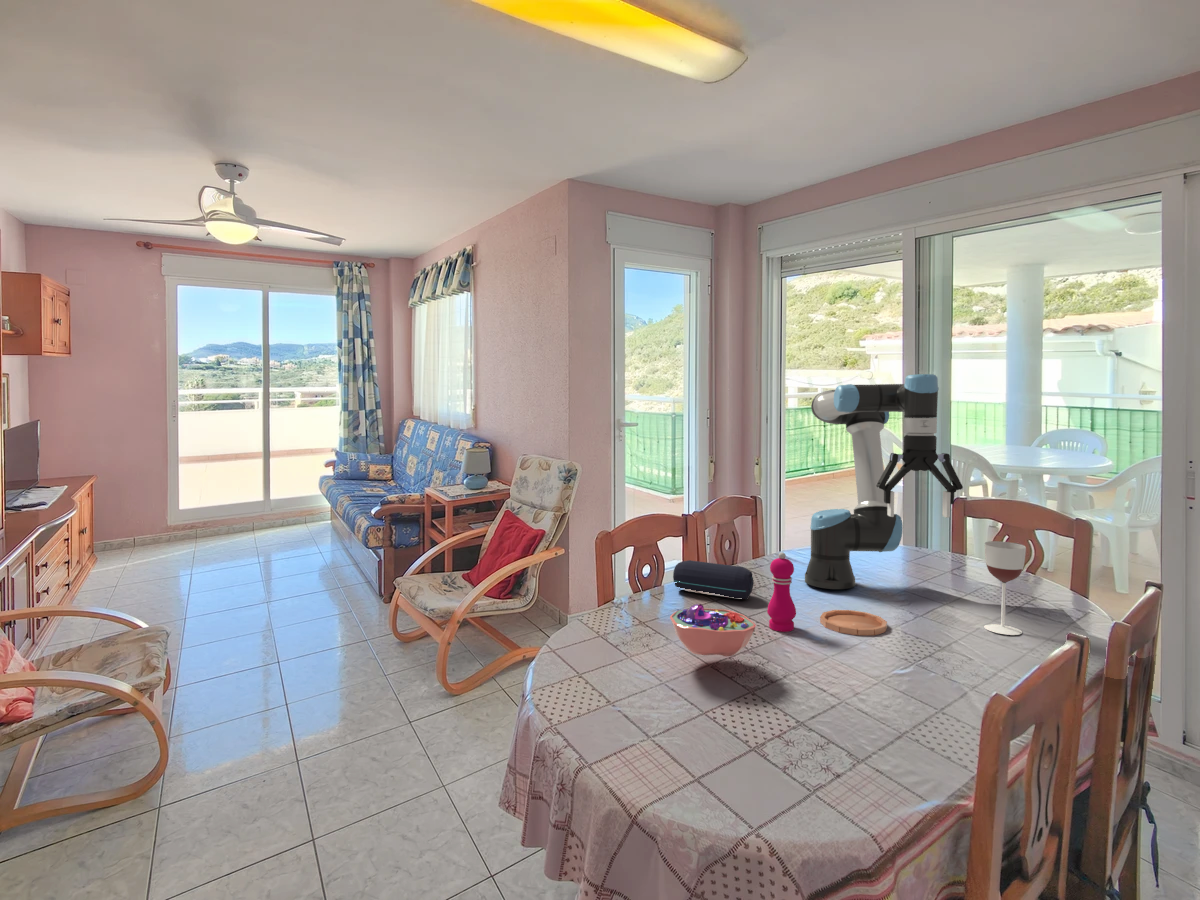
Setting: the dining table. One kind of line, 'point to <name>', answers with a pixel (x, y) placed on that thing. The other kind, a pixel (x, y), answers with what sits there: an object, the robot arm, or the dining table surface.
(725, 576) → the portable speaker
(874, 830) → the dining table surface
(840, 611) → the terracotta saucer
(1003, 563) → the wineglass
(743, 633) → the cell model
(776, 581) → the pepper mill
